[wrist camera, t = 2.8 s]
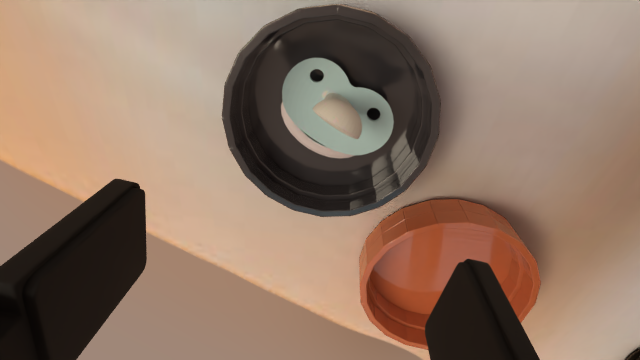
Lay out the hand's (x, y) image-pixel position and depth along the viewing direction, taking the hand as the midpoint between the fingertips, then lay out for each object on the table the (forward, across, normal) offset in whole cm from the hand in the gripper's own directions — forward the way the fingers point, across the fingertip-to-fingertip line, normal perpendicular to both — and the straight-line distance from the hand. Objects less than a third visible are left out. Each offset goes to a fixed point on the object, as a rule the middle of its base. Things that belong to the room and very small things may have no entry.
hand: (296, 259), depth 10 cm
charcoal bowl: (+16, 0, 0) cm, 16 cm away
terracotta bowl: (+16, -12, +10) cm, 22 cm away
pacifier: (+15, 0, 0) cm, 15 cm away
